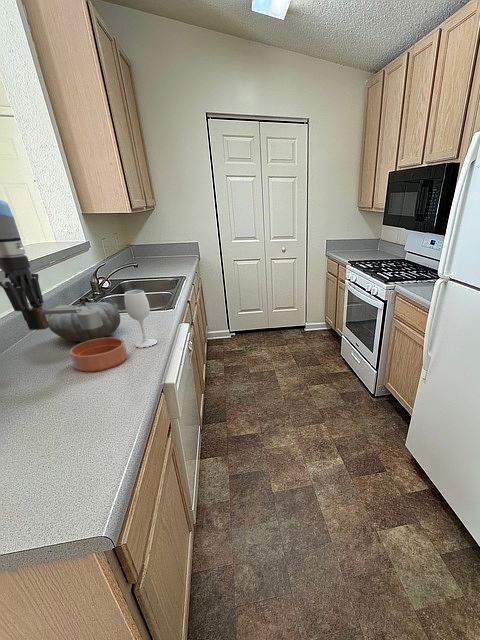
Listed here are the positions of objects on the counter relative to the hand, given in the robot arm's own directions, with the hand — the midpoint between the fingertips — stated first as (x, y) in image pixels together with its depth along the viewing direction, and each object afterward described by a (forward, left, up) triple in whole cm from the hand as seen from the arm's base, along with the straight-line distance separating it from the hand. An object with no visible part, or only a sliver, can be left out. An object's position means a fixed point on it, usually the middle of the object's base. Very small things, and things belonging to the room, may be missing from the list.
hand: (37, 327), depth 112 cm
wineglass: (+27, +17, -14) cm, 34 cm away
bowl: (+18, +1, -13) cm, 22 cm away
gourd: (0, +24, -14) cm, 27 cm away
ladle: (+10, 0, 0) cm, 10 cm away
